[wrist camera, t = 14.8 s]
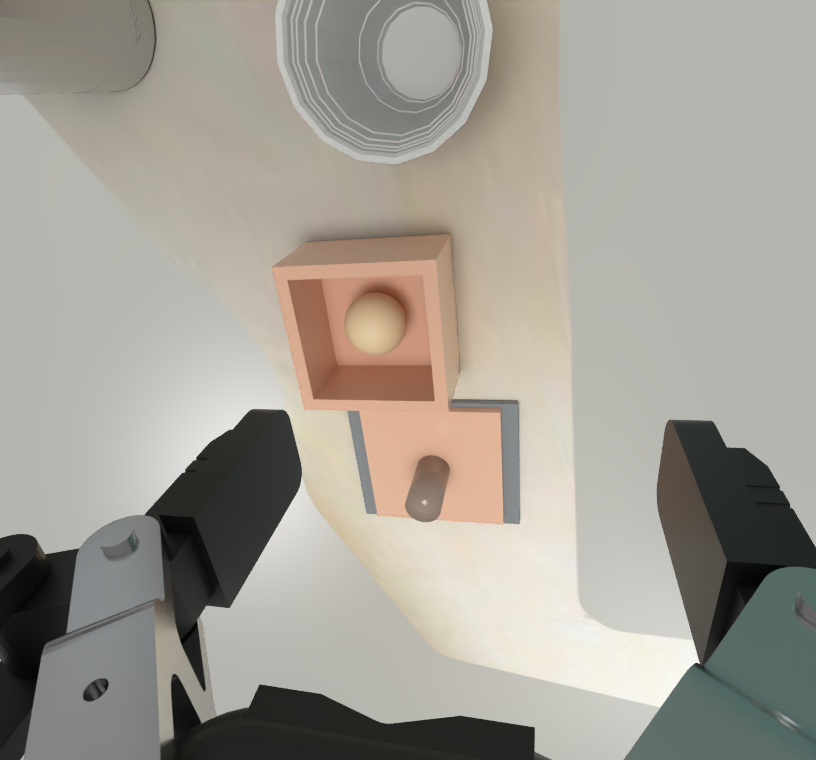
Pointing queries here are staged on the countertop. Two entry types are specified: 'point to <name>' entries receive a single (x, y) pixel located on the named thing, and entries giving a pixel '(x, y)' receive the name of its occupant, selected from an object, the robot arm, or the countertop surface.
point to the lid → (436, 464)
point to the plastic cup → (384, 71)
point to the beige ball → (375, 324)
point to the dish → (326, 308)
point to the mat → (508, 454)
